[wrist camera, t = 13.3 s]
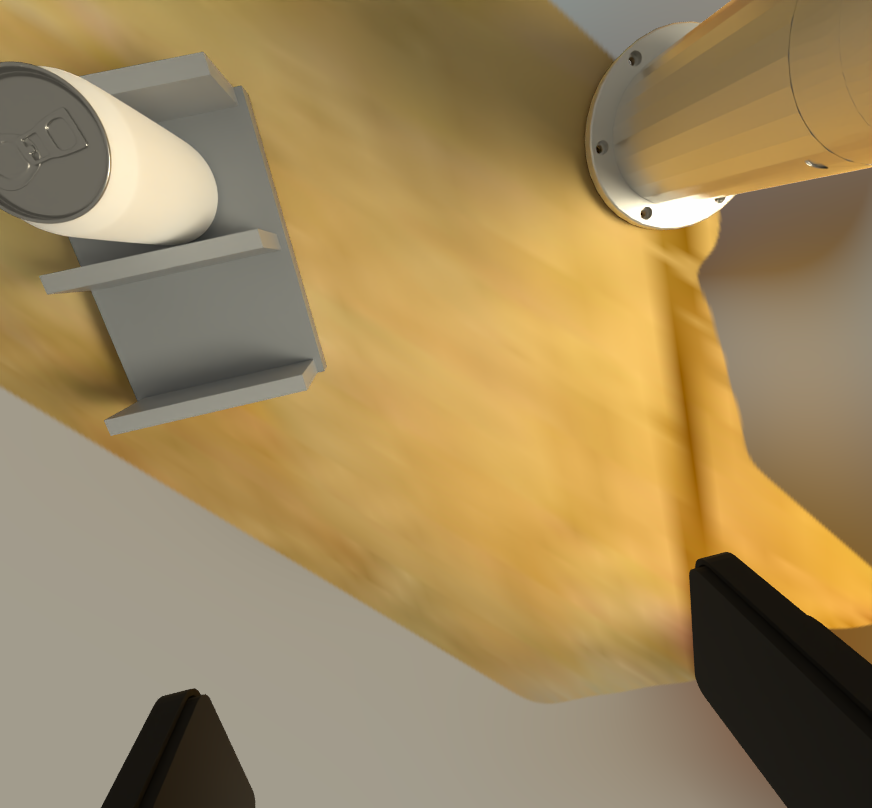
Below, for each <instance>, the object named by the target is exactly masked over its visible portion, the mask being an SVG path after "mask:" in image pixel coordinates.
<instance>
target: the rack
mask: <svg viewBox="0 0 872 808" xmlns="http://www.w3.org/2000/svg"><path fill="white" fill-rule="evenodd" d="M79 77H81V78H83V79H85V80H86V81H88V82H90V83H92V84H94V85H95V86H97V87H99V88H100V89H102V90H104V91H105V92H107V93H109V94H110V95H112V96H113V97H115V98H117V99H118V100H120V101H122V102H123V103H125V104H126V105H128V106H130V107H131V108H133V109H134V110H136V111H138V112H139V113H141V114H142V115H144V116H146V117H147V118H149V119H150V120H152V121H154V122H155V123H157V124H158V125H160V126H161V127H163V128H165V129H166V130H168V131H169V132H171V133H172V134H174V135H176V136H177V137H179V138H180V139H182V140H183V141H185V142H186V143H188V144H189V145H190V146H192V147H193V148H194V149H195V150H196V151H197V152H198V153H199V154H200V155H201V156H202V157H203V159H204V160H205V161H206V163H207V164H208V166H209V168H210V169H211V171H212V174H213V176H214V179H215V182H216V186H217V192H218V205H217V210H216V214H215V217H214V219H213V221H212V223H211V225H210V226H209V228H208V229H207V230H206V231H205V232H204V233H203V234H202V235H201V236H200V237H198V238H197V239H195V240H193V241H191V242H188V243H185V244H181V245H154V244H142V243H130V242H119V241H108V240H97V239H87V238H77V237H70V236H68V237H69V240H70V242H71V245H72V247H73V249H74V252H75V254H76V256H77V259H78V261H79V264H80V266H81V267H78V268H74V269H69V270H65V271H60V272H55V273H51V274H46V275H41V276H39V277H40V279H41V282H42V284H43V286H44V288H45V291H46V293H47V294H58V293H69V292H81V291H91V292H92V294H93V297H94V299H95V301H96V304H97V306H98V309H99V311H100V313H101V316H102V318H103V320H104V323H105V325H106V327H107V330H108V332H109V335H110V337H111V339H112V342H113V344H114V346H115V349H116V351H117V354H118V356H119V358H120V361H121V363H122V365H123V368H124V370H125V373H126V375H127V377H128V380H129V382H130V384H131V387H132V389H133V391H134V394H135V396H136V399H137V401H138V402H136V403H134V404H132V405H131V406H129V407H127V408H125V409H123V410H122V411H120V412H118V413H116V414H115V415H113V416H111V417H109V418H107V419H106V420H104V422H105V424H106V426H107V428H108V430H109V433H110V435H111V436H112V435H116V434H120V433H125V432H129V431H133V430H138V429H142V428H146V427H151V426H155V425H159V424H163V423H168V422H172V421H176V420H181V419H185V418H189V417H194V416H198V415H202V414H206V413H211V412H215V411H219V410H224V409H228V408H232V407H237V406H241V405H245V404H250V403H254V402H258V401H262V400H267V399H271V398H275V397H280V396H284V395H288V394H293V393H297V392H301V391H305V390H307V389H308V388H309V386H310V384H311V383H312V381H313V379H314V378H315V376H316V374H317V373H318V372H322V371H325V369H326V367H327V366H326V362H325V359H324V355H323V352H322V348H321V345H320V341H319V338H318V335H317V331H316V328H315V324H314V321H313V317H312V314H311V310H310V307H309V303H308V300H307V296H306V293H305V289H304V286H303V283H302V279H301V276H300V272H299V269H298V265H297V262H296V258H295V255H294V251H293V248H292V244H291V241H290V237H289V234H288V231H287V227H286V224H285V220H284V217H283V213H282V210H281V206H280V203H279V199H278V196H277V192H276V189H275V186H274V182H273V179H272V175H271V172H270V168H269V165H268V161H267V158H266V154H265V151H264V147H263V144H262V140H261V137H260V134H259V130H258V127H257V123H256V120H255V116H254V113H253V109H252V106H251V102H250V99H249V95H248V93H247V92H246V91H245V90H244V88H243V87H242V86H237V87H233V86H232V85H231V84H230V83H229V82H228V81H227V79H226V78H225V77H224V76H223V75H222V73H221V72H220V71H219V70H218V69H217V67H216V66H215V65H214V64H213V63H212V61H211V60H210V59H209V58H208V57H207V56H206V54H205V53H204V52H200V53H195V54H190V55H185V56H180V57H175V58H170V59H165V60H159V61H154V62H149V63H144V64H139V65H134V66H129V67H124V68H119V69H114V70H109V71H104V72H99V73H94V74H89V75H84V76H79Z"/></svg>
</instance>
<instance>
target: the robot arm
mask: <svg viewBox="0 0 872 808" xmlns="http://www.w3.org/2000/svg"><path fill="white" fill-rule="evenodd" d="M629 60H630V61H631V63H632V65H631V64H630V62H629ZM596 147H598V148H599V150H600V151H599V154H598V153H597V151H596ZM585 149H586V160H587V164H588V168H589V172H590V176H591V178H592V181H593V183H594V185H595V187H596V190H597V192H598V193H599V195H600V196H601V198H602V199H603V200H604V202H605V203H606V205H607V206H608V207H609V208H610V209H611V210H612V211H614V212H615V213H616V214H617V215H618V216H619V217H621V218H622V219H624V220H626V221H627V222H629V223H631V224H633V225H636V226H639V227H642V228H645V229H653V230H670V229H678V228H682V227H687V226H691V225H694V224H696V223H698V222H700V221H703V220H705V219H707V218H709V217H710V216H712V215H713V214H714V213H716V212H717V211H719V210H720V209H722V208H723V207H724V206H725V205H726V204H727V203H728V202H729V201H730V200H731V199H732V198H733V197H734V196H735V195H736V194H740V193H745V192H750V191H754V190H760V189H765V188H770V187H775V186H780V185H785V184H790V183H795V182H800V181H805V180H810V179H815V178H820V177H825V176H830V175H836V174H840V173H846V172H851V171H855V170H861V169H866V168H870V167H872V0H731V1H730V2H729V3H727V4H726V5H724V6H723V7H722V8H720V9H719V10H718V11H717V12H715V13H714V14H713V15H711V16H710V17H709V18H708V19H706V20H705V21H703V22H702V23H698V22H679V23H672V24H669V25H666V26H663V27H660V28H657V29H655V30H653V31H651V32H649V33H648V34H646V35H644V36H643V37H641V38H639V39H638V40H637V41H635V42H634V43H633V44H632V45H631V46H629V47H628V48H627V49H626V50H625V51H624V52H623V53H622V54H621V55H620V56H619V57H618V58H617V59H616V60H615V61H614V62H613V63H612V64H611V66H610V67H609V69H608V70H607V72H606V73H605V75H604V76H603V78H602V79H601V81H600V83H599V85H598V88H597V90H596V92H595V94H594V96H593V99H592V102H591V105H590V109H589V113H588V117H587V122H586V132H585ZM641 211H642V213H643V215H642V217H641V215H640V214H641ZM689 579H690V597H691V614H692V632H693V649H694V667H695V677H696V680H697V683H698V686H699V688H700V690H701V692H702V693H703V695H704V696H705V698H706V699H707V701H708V702H709V703H710V705H711V706H712V707H713V709H714V710H715V711H716V713H717V714H718V715H719V717H720V718H721V719H722V721H723V722H724V723H725V725H726V726H727V727H728V729H729V730H730V731H731V733H732V734H733V735H734V737H735V738H736V739H737V741H738V742H739V744H740V745H741V746H742V748H743V749H744V750H745V752H746V753H747V754H748V755H749V757H750V758H751V759H752V761H753V762H754V764H755V765H756V766H757V768H758V769H759V770H760V772H761V773H762V774H763V775H764V777H765V778H766V780H767V781H768V782H769V784H770V785H771V786H772V788H773V789H774V790H775V792H776V793H777V794H778V796H779V797H780V798H781V800H782V801H783V802H784V804H785V805H786V806H787V808H872V664H870V663H869V662H868V661H867V660H866V659H864V658H863V657H862V656H861V655H859V654H858V653H857V652H856V651H854V650H853V649H852V648H851V647H850V646H848V645H847V644H846V643H845V642H843V641H842V640H841V639H840V638H839V637H837V636H836V635H835V634H834V633H832V632H831V631H830V630H829V629H828V628H826V627H825V626H824V625H823V624H821V623H820V622H819V621H817V620H816V619H814V618H813V617H811V616H809V615H806V614H805V613H804V612H803V611H801V610H800V609H799V608H798V607H797V606H795V605H794V604H793V603H792V602H790V601H789V600H788V599H787V598H786V597H784V596H783V595H782V594H781V593H780V592H778V591H777V590H776V589H775V588H774V587H772V586H771V585H770V584H769V583H767V582H766V581H765V580H764V579H763V578H761V577H760V576H759V575H758V574H757V573H755V572H754V571H753V570H752V569H750V568H749V567H748V566H747V565H746V564H744V563H743V562H742V561H741V560H740V559H738V558H737V557H736V556H735V555H733V554H731V553H729V552H724V553H720V554H716V555H713V556H709V557H705V558H701V559H698V560H697V561H696V565H695V569H692V570H690V573H689ZM101 808H255V797H254V793H253V790H252V788H251V786H250V784H249V782H248V779H247V778H246V776H245V773H244V771H243V769H242V767H241V764H240V762H239V760H238V758H237V756H236V754H235V751H234V749H233V747H232V745H231V743H230V741H229V739H228V736H227V734H226V732H225V730H224V728H223V726H222V723H221V721H220V720H219V717H218V715H217V713H216V711H215V709H214V706H213V704H212V702H211V700H210V698H209V697H208V696H207V695H206V694H205V695H201V694H200V693H199V691H198V690H196V689H189V690H185V691H181V692H177V693H173V694H169V695H165V696H162V697H161V698H159V699H158V700H157V702H156V703H155V705H154V706H153V708H152V710H151V713H150V714H149V716H148V718H147V720H146V722H145V724H144V726H143V728H142V730H141V731H140V733H139V735H138V737H137V739H136V741H135V743H134V745H133V747H132V749H131V751H130V753H129V755H128V757H127V759H126V760H125V762H124V764H123V766H122V768H121V770H120V772H119V774H118V776H117V778H116V780H115V782H114V784H113V786H112V788H111V789H110V792H109V793H108V795H107V797H106V799H105V801H104V803H103V805H102V807H101Z"/></svg>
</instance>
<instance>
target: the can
mask: <svg viewBox="0 0 872 808" xmlns="http://www.w3.org/2000/svg"><path fill="white" fill-rule="evenodd" d="M217 205H218V192H217V186H216V182H215V179H214V176H213V174H212V171H211V169H210V168H209V166H208V164H207V163H206V161H205V160H204V159H203V157H202V156H201V155H200V154H199V153H198V152H197V151H196V150H195V149H194V148H193V147H192V146H190V145H189V144H188V143H186V142H185V141H183V140H182V139H180V138H179V137H177V136H176V135H174V134H172V133H171V132H169V131H168V130H166V129H165V128H163V127H161V126H160V125H158V124H157V123H155V122H154V121H152V120H150V119H149V118H147V117H146V116H144V115H142V114H141V113H139V112H138V111H136V110H134V109H133V108H131V107H130V106H128V105H126V104H125V103H123V102H122V101H120V100H118V99H117V98H115V97H113V96H112V95H110V94H109V93H107V92H105V91H104V90H102V89H100V88H99V87H97V86H95V85H94V84H92V83H90V82H88V81H86V80H85V79H83V78H81V77H79V76H76V75H74V74H72V73H69V72H66V71H64V70H60V69H57V68H52V67H45V66H35V65H32V64H28V63H22V62H0V209H2V210H3V211H5V212H7V213H9V214H11V215H13V216H15V217H18V218H20V219H22V220H24V221H25V222H27V223H29V224H31V225H33V226H35V227H37V228H39V229H42V230H44V231H47V232H51V233H54V234H58V235H63V236H70V237H77V238H87V239H97V240H108V241H119V242H130V243H142V244H154V245H181V244H185V243H188V242H191V241H193V240H195V239H197V238H198V237H200V236H201V235H202V234H203V233H204V232H205V231H206V230H207V229H208V228H209V226H210V225H211V223H212V221H213V219H214V217H215V214H216V210H217Z"/></svg>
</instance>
